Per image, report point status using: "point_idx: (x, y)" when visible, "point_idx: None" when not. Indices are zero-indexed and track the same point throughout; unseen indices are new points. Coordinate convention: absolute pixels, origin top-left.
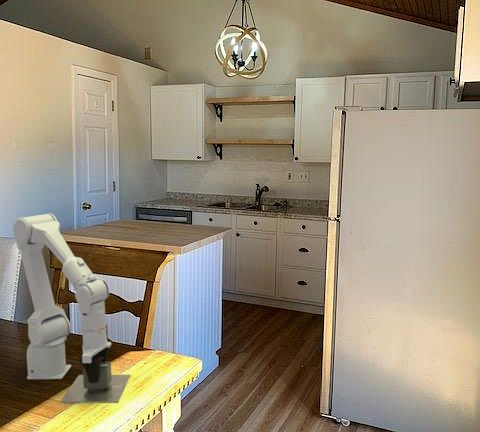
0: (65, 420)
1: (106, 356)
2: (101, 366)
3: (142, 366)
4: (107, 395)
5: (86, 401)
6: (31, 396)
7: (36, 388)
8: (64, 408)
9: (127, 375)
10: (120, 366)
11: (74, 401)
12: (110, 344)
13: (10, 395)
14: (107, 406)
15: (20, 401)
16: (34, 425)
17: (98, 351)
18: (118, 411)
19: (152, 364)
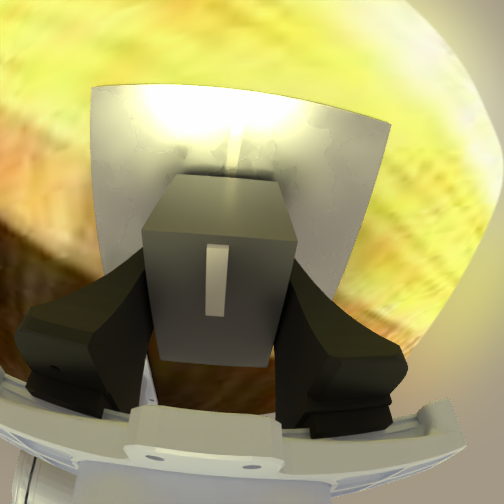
0: (427, 292)
1: (101, 285)
2: (230, 286)
3: (14, 63)
4: (324, 173)
5: (349, 256)
6: (251, 388)
7: (204, 386)
8: (357, 311)
9: (100, 99)
10: (15, 166)
11: (333, 296)
12: (218, 445)
13: (237, 412)
14: (404, 167)
15: (274, 397)
16: (408, 347)
17: (384, 448)
18: (450, 125)
19: (6, 27)
